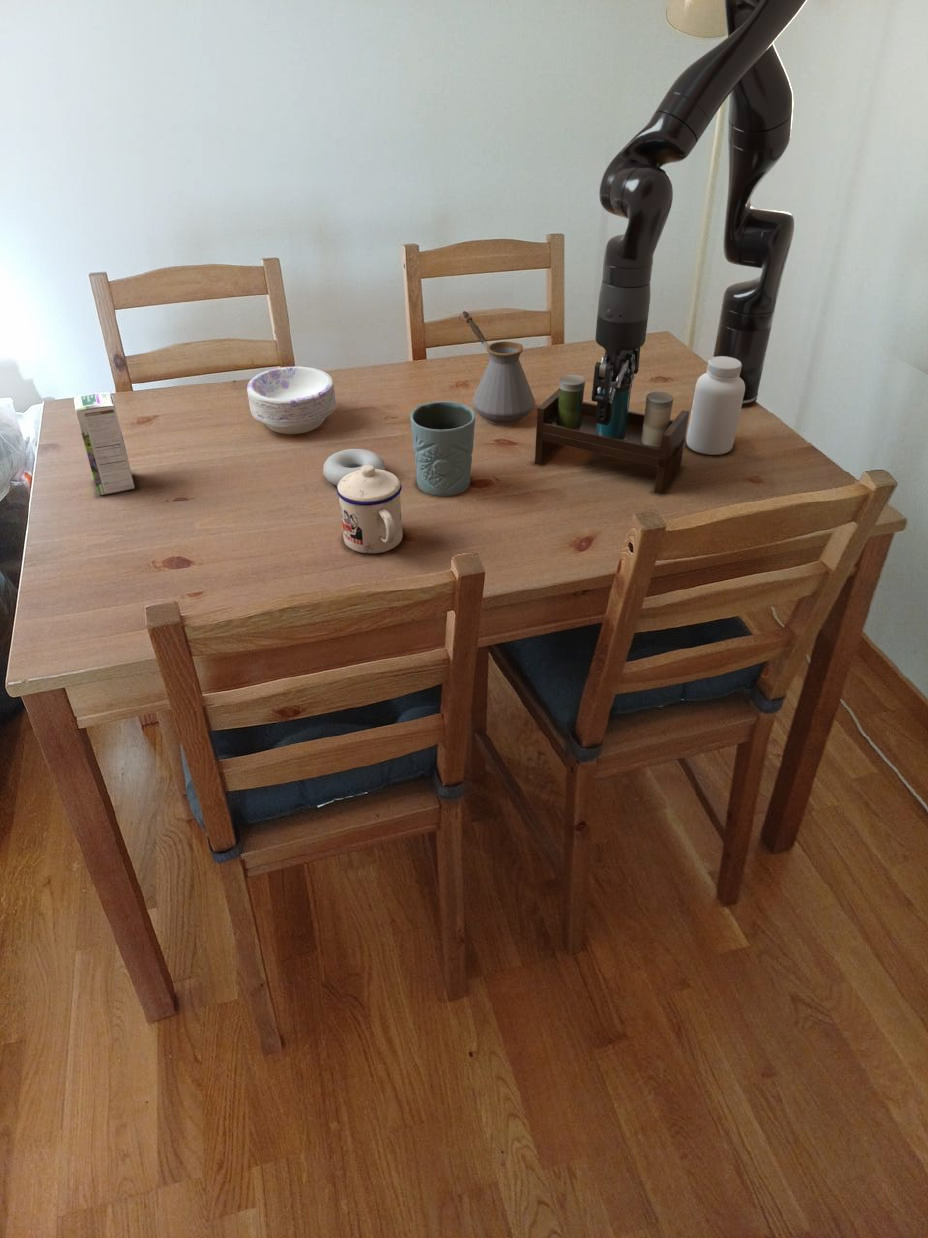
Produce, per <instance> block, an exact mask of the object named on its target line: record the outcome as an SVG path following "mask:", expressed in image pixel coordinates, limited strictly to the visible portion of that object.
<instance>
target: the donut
mask: <svg viewBox="0 0 928 1238" xmlns="http://www.w3.org/2000/svg"><path fill="white" fill-rule="evenodd" d="M365 465H371V466H373V467H374V468H375V469H380V470H385V471H386V467H385V462H384V460H383V458H382V457H381V456H380V455H379V454H378V453H376V452H374V451H372V450H369V449H364V448H348V449H344V450H343V449H342V450H340V451H337V452H335V453H333V454H331V455H329V457H328V458H326V460H325V462H324V463H323V467H322V469H323V476H324V478H325V479H326V480H327V481H328V483H330V484H331V485H333V486H335V487H337V486H338V483H339V481H340V480H341V479H342V478H343V477H344V476H346V475H347V474H349V473H351V472H354V471H358V470H361V468H362V467H363V466H365Z"/></svg>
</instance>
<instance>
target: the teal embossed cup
mask: <svg viewBox="0 0 928 1238" xmlns="http://www.w3.org/2000/svg"><path fill="white" fill-rule="evenodd" d="M409 415H410V417H409V420H410V427H411V436H412V447H413V452H414V462H415V463H414V464H415V472H416V484H417V486H418V488H419V490H420V491H422V492H423V493H425V494H428V495H431V496H437V497H451V496H455V495H458V494H461V493H463V492H465V491H466V490H467V489H468V488H469V486H470V482H471V472H472V464H473V463H472V461H473V452H474V440H475V439H474V438H475V425H476V412H475V410H473V409H472V408H471V407H470V406H468V405H466V404H463V403H461V402H457V401H450V400H438V401H437V400H436V401H429V402H426V403H421V404H420V405H418V406H416V407H415V408H414V409H413V410H412V411H411V413H410V414H409Z"/></svg>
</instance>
